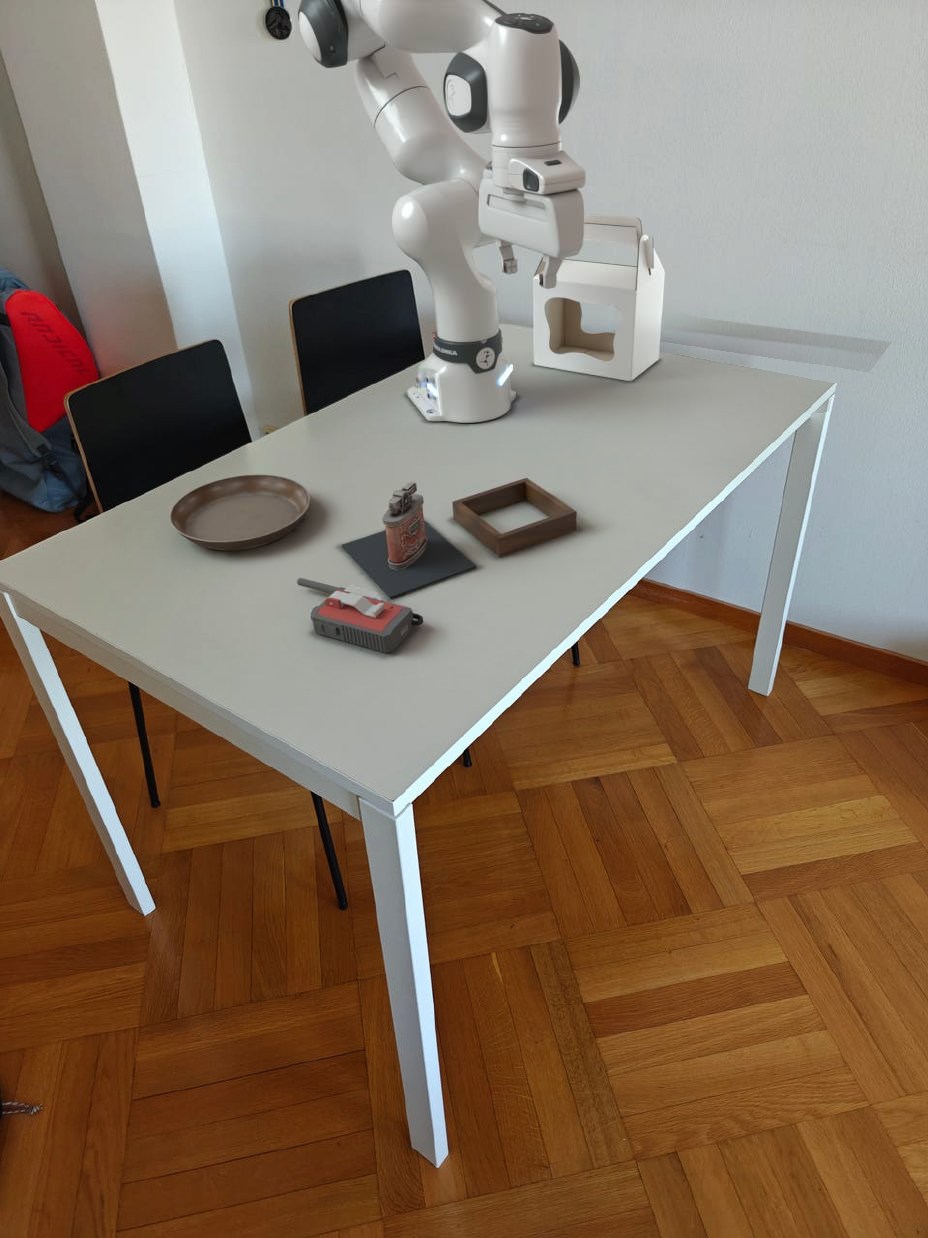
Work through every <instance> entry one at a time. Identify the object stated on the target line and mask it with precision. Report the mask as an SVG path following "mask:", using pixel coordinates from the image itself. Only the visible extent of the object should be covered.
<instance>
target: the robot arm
mask: <svg viewBox="0 0 928 1238" xmlns="http://www.w3.org/2000/svg"><path fill="white" fill-rule="evenodd" d="M297 18H298V25H299V31H300V35H301V38H302V40H303V43H304V45H305V47H306V49H307V50H308V52H309V53H310V54H311V57H313V59H314V60H315V62H316V63H318V65H320V66H322V67H324V68H325V69H335V68H340V67H344V66H346V65H347V64H348V63H349V62H353V61H356V60H357V61H356V63H355V66H354V70H353V78H354V84H355V87H356V90H357V93H358V96H359V99H360V101H361V104H362V107H363V109H364V112H365V114H366V115H367V117H368V120H369V122H370V123H371V126H372V127H373V130H374V131H375V133H376V135H377V137H378V139H379V140H380V142H381V144H382V146H383V147H384V149H385V151H386V153H387V154H388V156H389V159H390V160H391V162H392V163H393V165H394V168H395V169H396V170H397V171H398V172H399V173H400V174H401V175H402V176H403V177H404V178H406V179H408V180H410V181H413V182H416V183H418V184H420V185H421V186H419V187H417V188H415V189H413V190H412V191H409V192H407V193H406V194H404V195H402V196H401V197H399V198H398V199H397V200H396V202H395V204H394V206H393V209H392V214H391V231H392V235H393V238H394V241H395V243H396V245H397V247H398V248H399V249H400V250H401V251H402V252H403V253H404V255H406V257H408V258H410V259H411V260H412V261H414V262H415V263H416V264H417V265H418V266H419V267H420V268H421V269H422V272H423V273H424V275H425V276H426V279H427V280H428V283H429V285H430V288H431V293H432V299H433V306H434V307H433V308H434V314H435V315H434V317H435V325H436V326H435V327H436V331H433V332H431V334H432V335H434V336H431V339H433V342H432V345H433V346H432V352H431V354H429V355H428V356H427V357H426V358H425V359H424V360H423V361H422V362H420V364H419V366H418V368H417V375H416V376H415V383H416V384H415V385H413V386H411V387H410V388H408V389H407V392H406V395H407V397H408V398H409V399H410V400H411V402H412V403H413V404H414V406H415V407H416V408H417V409H418V411H419V412H420V413H421V415H422V416H423V417H424V418H425V419H426V421H428V422H450V423H459V424H460V423H463V424H471V423H480V422H486V421H490V420H495V419H497V418H500V417H502V416H504V415H505V414H506V413H508V412H509V411H510V409H511V407H512V402H513V401H514V400H515V399H516V398H517V394H516V393H517V392H516V391H515V390H513V389H511V381H510V374H511V373H512V372H513V369H514V368H513V367H514V366H513V364H510V365H509V363H508V357H507V356H506V355H505V354H503V343H504V341H503V336H502V335H503V334H502V329H500V323H499V322H500V320H499V318H500V316H499V314H500V313H499V291H498V288H497V285H496V283H495V282H494V281H493V279H492V278H490V276H488V275H486V274H484V273H482V272H480V271H478V269H477V267H476V264H475V260H474V254H473V253H474V250H475V249H479V248H481V247H484V246H488V245H492V244H495V247H496V248H495V249H496V250H497V253H498V256H499V259H500V260H501V261H500V262H501V263H500V264H501V265H500V266H501V273H504V274H505V275H514V274H517V272H518V270H519V269H518V262H519V261H518V259H517V258H515V255H514V251H513V245H515V246H519V247H522V248H524V249H527V250H531V251H533V252H537V253H539V254H542V257H543V261H544V262H546V264H545V268H544V271H543V273H540V274H539V279H540V282H539V284H540V286H541V287H543V288H546V289H550V288H554V287H555V286H556V284H557V273H558V270H559V268H560V266H561V263H562V261H563V258H565V259H567V258H570V257H575V256H577V255H579V254H580V253H581V250H582V248H583V246H584V241H585V240H584V214H585V200H584V196H583V194H582V193H581V191H580V190H579V189H582V188H585V185H586V179H587V177H586V171H585V169H584V167H582V166H581V165H579V163H577V162H576V161H575V160H573V159H572V158H571V156H569V155H568V153H567V152H566V151H565V150H563V149H562V146H563V145H562V143H563V141H562V140H563V139H562V132H561V128H560V125H561V124H562V123H563V122H564V121H565V119H566V118H567V117H568V116H569V114H570V113H571V112H572V109H573V108H574V106H575V104H576V102H577V100H578V96H579V92H580V88H581V74H580V70H579V66H578V63H577V60H576V59H575V56H574V55H573V54H572V52H571V50H570V49H569V47H568V46H567V45H566V44H565V42H563V41H562V40H561V39H559V34H558V29H557V27H556V24H555V23H554V22H553V21H552V20H551V19H549V18H548V17H546V16H544V15H541V14H536V13H525V12H513V13H512V12H511V13H507V12H505V11H504V10H503V9H501V8H500V7H498V6H497V5H495V4H494V3H492V2H491V1H489V0H300V3H299V6H298V10H297ZM412 54H455V55H454V56H453V58H452V59H451V61H450V62H449V64H448V65H447V68H446V71H445V74H444V77H443V83H442V84H443V86H442V93H443V95H442V96H443V103H444V108H445V111H446V113H445V112H444V109H442V107H441V105H440V103H439V102H438V100H437V98H436V97H435V95H434V93H433V91H432V90H431V88H430V87H429V86H430V85H429V84H428V82H427V81H426V80H425V78H424V76H423V75H422V73H421V72H420V70H419V69H418V67H417V65H416V63H415V61H414V59H413V55H412ZM446 114H447V115H446ZM449 119H450V120H449ZM450 121H451V122H452V123H453V124H454V125H455V127H457V128H458V129H459V130H460V131H461V132H463V133H464V134H465V133H466V134H472V135H473V134H474V135H482V134H490V133H492V134H491V144H490V145H491V146H490V149H491V160H489V162H488V160H486V159H485V158H484V157H482V156H481V155H480V154H479V153H478V152H477V151H475V149H473V148H472V147H471V146H470V145H469V144H468V143H467V142H466V141H465V140H464V139H463V138H462V137H461V136H460V135H459V133H458V132H457V131H456V129H455V127H454V126H453V125H452V123H451V122H450Z"/></svg>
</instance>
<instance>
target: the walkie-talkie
mask: <svg viewBox="0 0 928 1238" xmlns="http://www.w3.org/2000/svg"><path fill="white" fill-rule="evenodd" d="M296 584H297V586H301V587H304V588H307V589H312V590H316V591H319V592H323V593H326V594H330V595H328V596H327V598H325V599H324V600H323V601H322V602H321V603H320V604H319V605H316V606H314V607H313V608H312V609H311V612H310V620H311V621H312V626H313V631H314V633H315V634H319V635H321V636H322V635H323V636H324V637H325V636H326V637H330V638H333V639H335V640H336V639H337V640H340V641H342V642H347V643H350V644H354V645H357V646H361V647H365V648H368V649H371V650H375V651H378V652H381V653H385V654H387V653H390V652H393V651H394V650H395V649H397V647H398V646H399V645H401V643H402V642H403V641H404V639H406V638H407V636H408V635H409V634H410V633H411V632H412V631H413V629H415V627H419V626H421V625H422V624H423V623H424V617H423V616H422V615H421V614H419V613H415V612H413V611H414V610H413V609H412V608H411V607H408V606H404V605H401V604H396V603H392V602H390V601H387V600H383V599H382V597H381V596H380V594H379V593H378V592H377V591H376V590H372V589H369V588H364V587H361V586H357V585H356V584H352V583H351V584H349V585H348V586H347V587H343V586H340V587H338V586H333V585H330V584H326V583H323V582H319V581H314V580H311V579H307V578H302V577H299V578H298V579H297V580H296Z"/></svg>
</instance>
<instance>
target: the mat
mask: <svg viewBox="0 0 928 1238" xmlns="http://www.w3.org/2000/svg"><path fill="white" fill-rule="evenodd" d="M424 526H425V537H426V538H427V543H428V545H427V547H426V549H425V550H424V552H423V553H422V554H421V555H420V557H419V558H417V559H416V560H415V561H414V562H413V563H411V564H410V565H409V566H407V567H406V568H404V569H400V570H396V569H392V568H390V567H389V564H388V559H389V552H388V544H387V536H386V529H385V530H382V531H379V532H376V533H373V534H370V535H367V536H364V537H361V538H358V539H355V540H352V541H349V542H345V543H342V544H341V548H342V549H343V550H344V551H345V552H346V553H347V554H348V555H349V557H351V558H352V559H353V561H355V563H356V564H357V565H358V566H359V567H360V568H361V570H363V571H364V573H366V574H367V575H368V576H369V578H371V580H372V581H373V582H374V583H375V584H376V585H377V586H378V587H379V588H380V589H381V591H383V592H384V594H385V595H386V596H387V597H388V598H389V599H390V600H392V599H395V598H398V597H400V596H403V595H407V594H409V593H412V592H414V591H417V590H421V589H422V588H426V587H428V586H432V585H434V584H436V583H439V582H443V581H445V580H447V579H450V578H453V577H456V576H458V575H462V574H464V573H467V572H470V571H472V570H476V569H477V565H476V564H475V563H474V562H473V561H471V559H469V558H468V557H467V556H466V555H465V554H463V553H462V551H460V550H459V549H458V548H457V547H455V546H454V545H453V544H452V543H451V542H450V541H448V540H447V539H446V538H445V537H443V536H442V535H441V534H440V533H439V532H438V531H437V530H436V529H434V528H433V527H432V526H431V525H430V524H429V523H427V522H426V521H425V520H424Z"/></svg>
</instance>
